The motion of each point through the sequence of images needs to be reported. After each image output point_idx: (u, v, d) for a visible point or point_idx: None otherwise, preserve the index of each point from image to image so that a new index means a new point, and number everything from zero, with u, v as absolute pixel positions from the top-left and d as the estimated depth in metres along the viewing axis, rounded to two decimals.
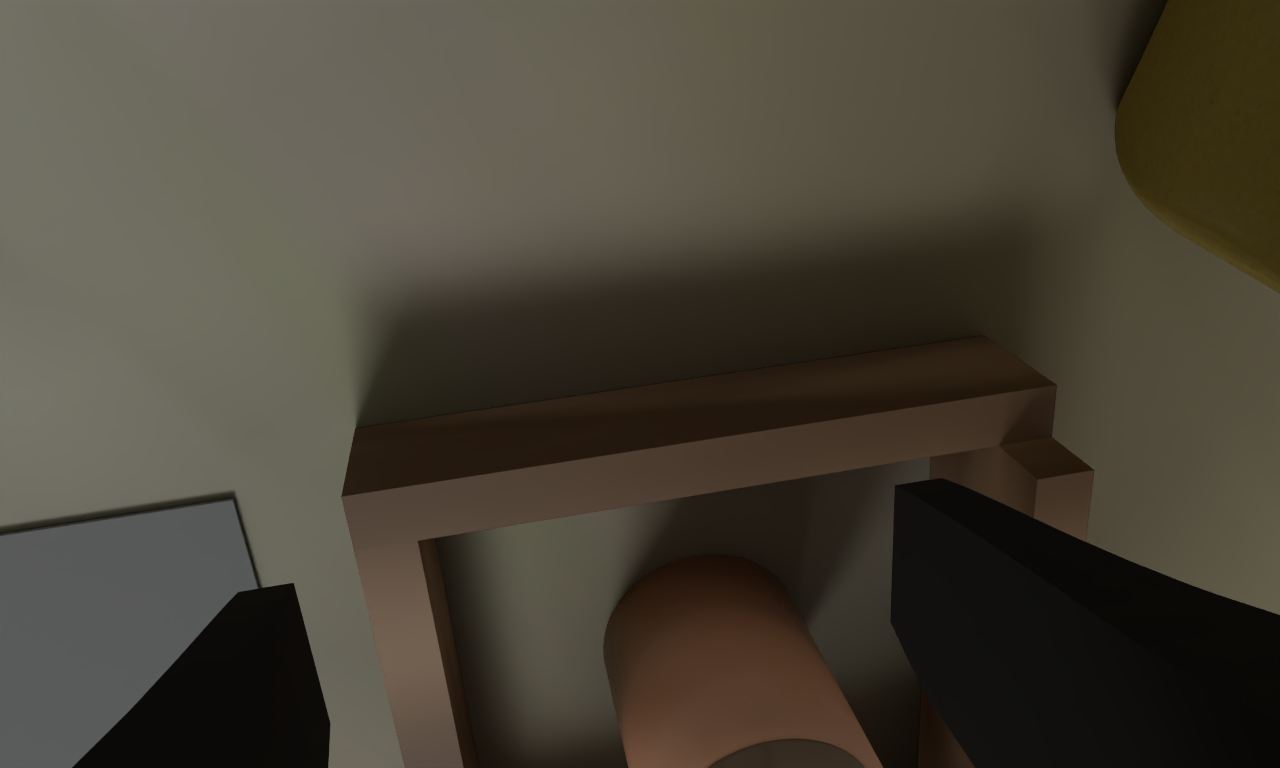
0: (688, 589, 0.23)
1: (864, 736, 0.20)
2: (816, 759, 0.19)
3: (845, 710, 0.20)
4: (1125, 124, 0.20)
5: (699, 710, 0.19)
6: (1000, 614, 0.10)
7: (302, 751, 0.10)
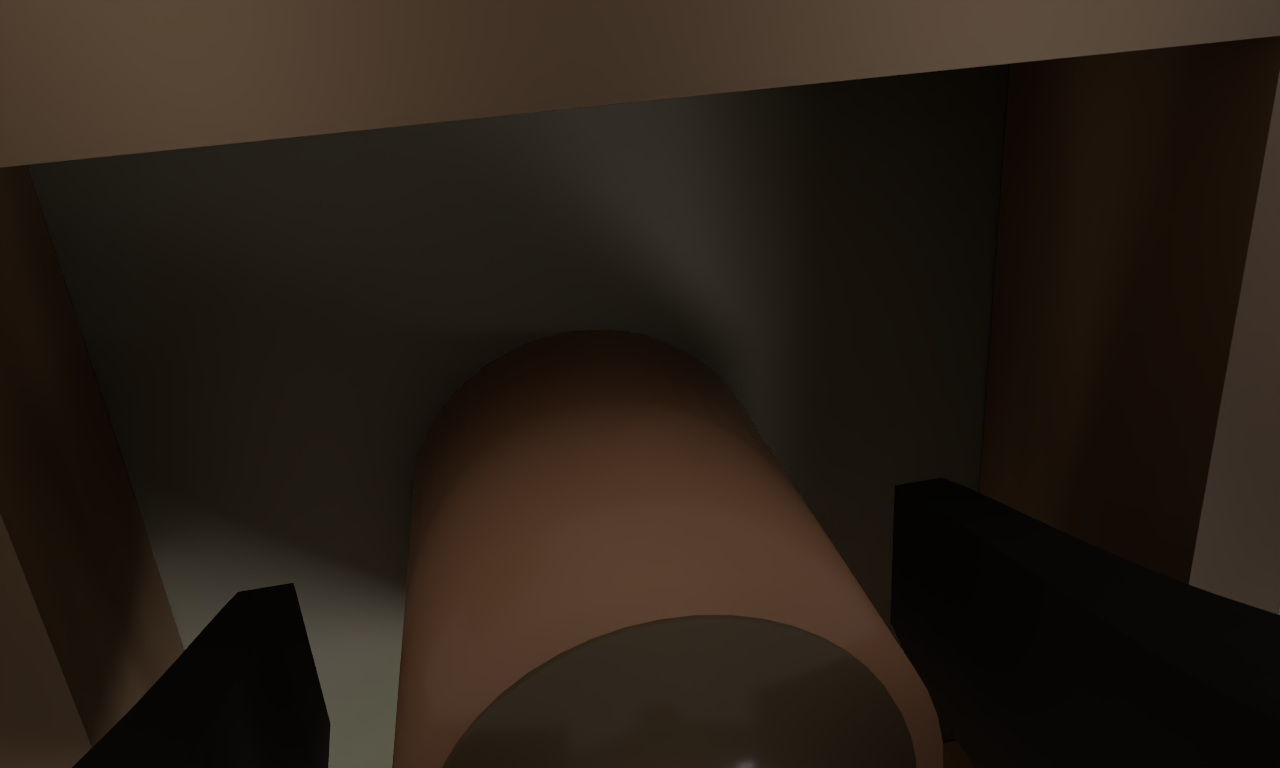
0: None
1: (497, 612, 0.08)
2: None
3: (463, 606, 0.09)
4: None
5: None
6: (1000, 614, 0.10)
7: (302, 751, 0.10)
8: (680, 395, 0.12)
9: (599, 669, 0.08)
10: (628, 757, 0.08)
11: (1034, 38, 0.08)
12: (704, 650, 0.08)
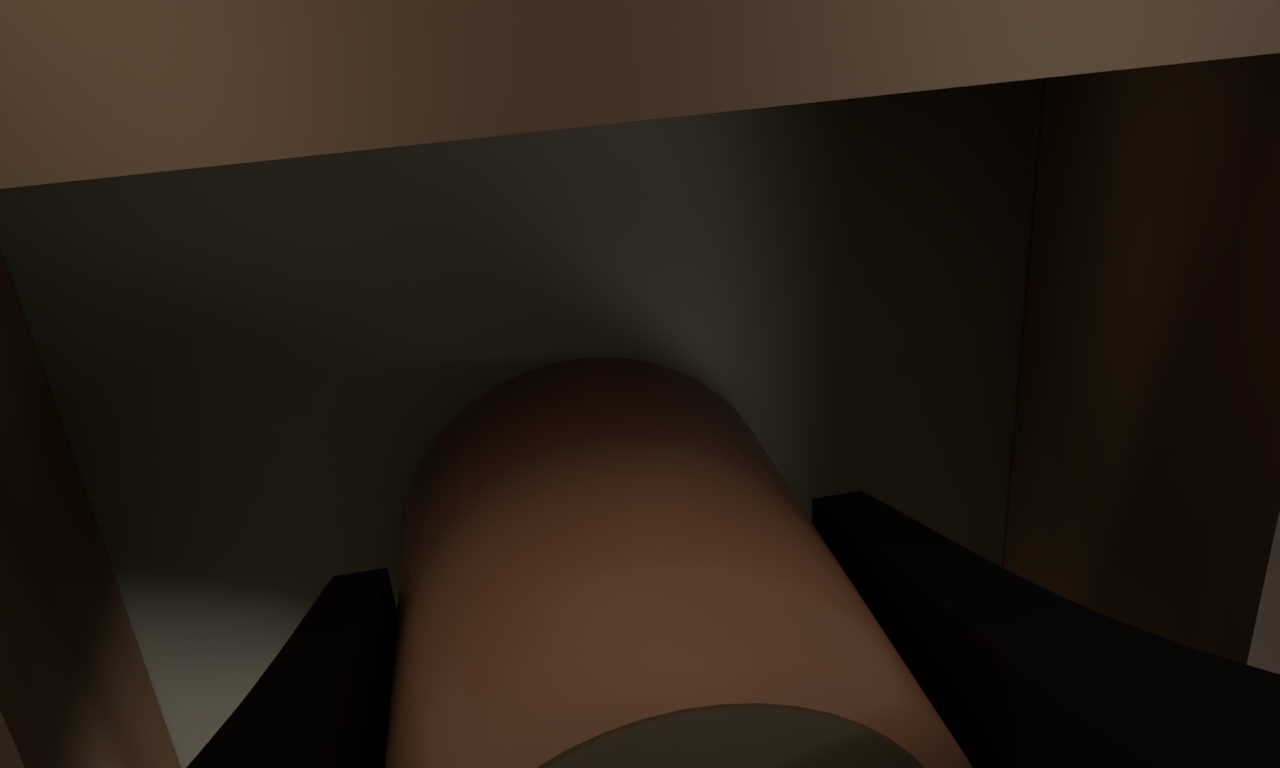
0: None
1: (494, 698, 0.07)
2: None
3: (456, 686, 0.08)
4: None
5: None
6: (902, 632, 0.10)
7: None
8: (693, 433, 0.11)
9: (612, 767, 0.07)
10: None
11: (1102, 46, 0.07)
12: (731, 743, 0.07)
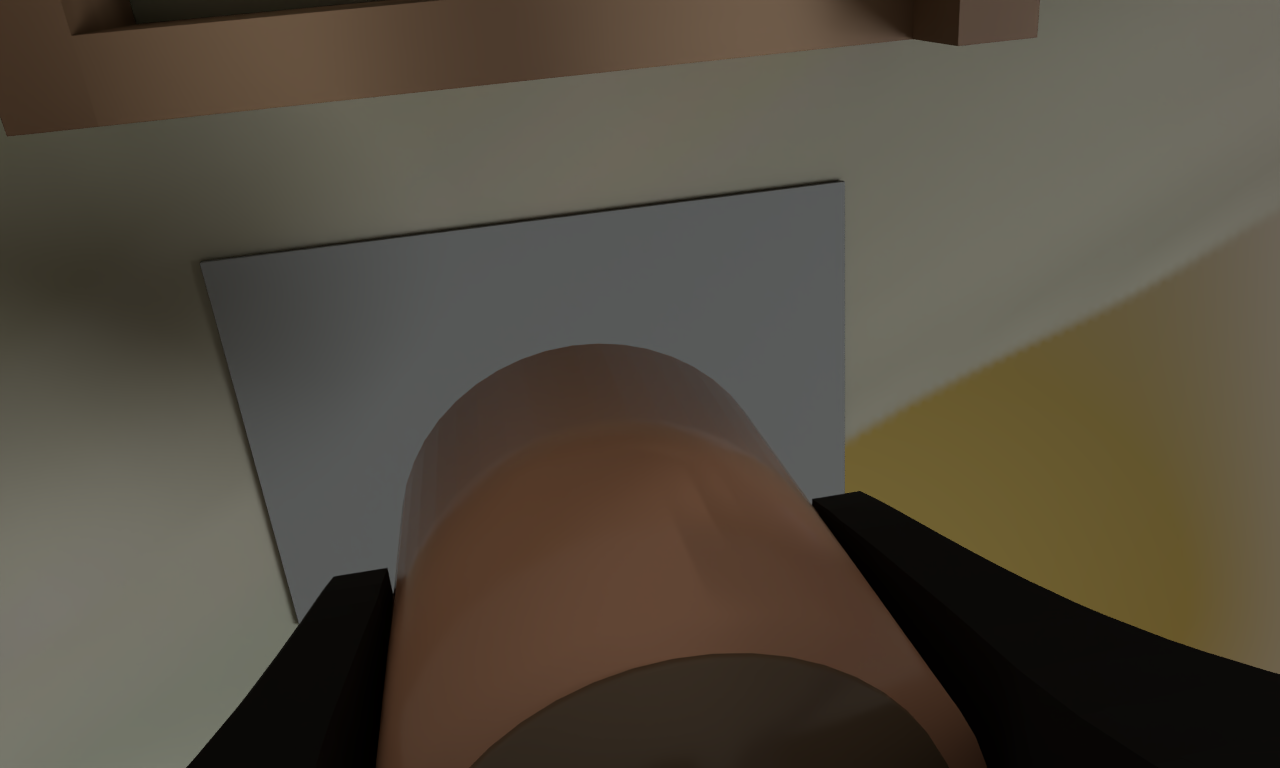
0: None
1: (486, 652, 0.07)
2: None
3: (449, 645, 0.08)
4: None
5: None
6: None
7: None
8: (687, 409, 0.11)
9: (603, 717, 0.07)
10: None
11: None
12: (723, 695, 0.07)
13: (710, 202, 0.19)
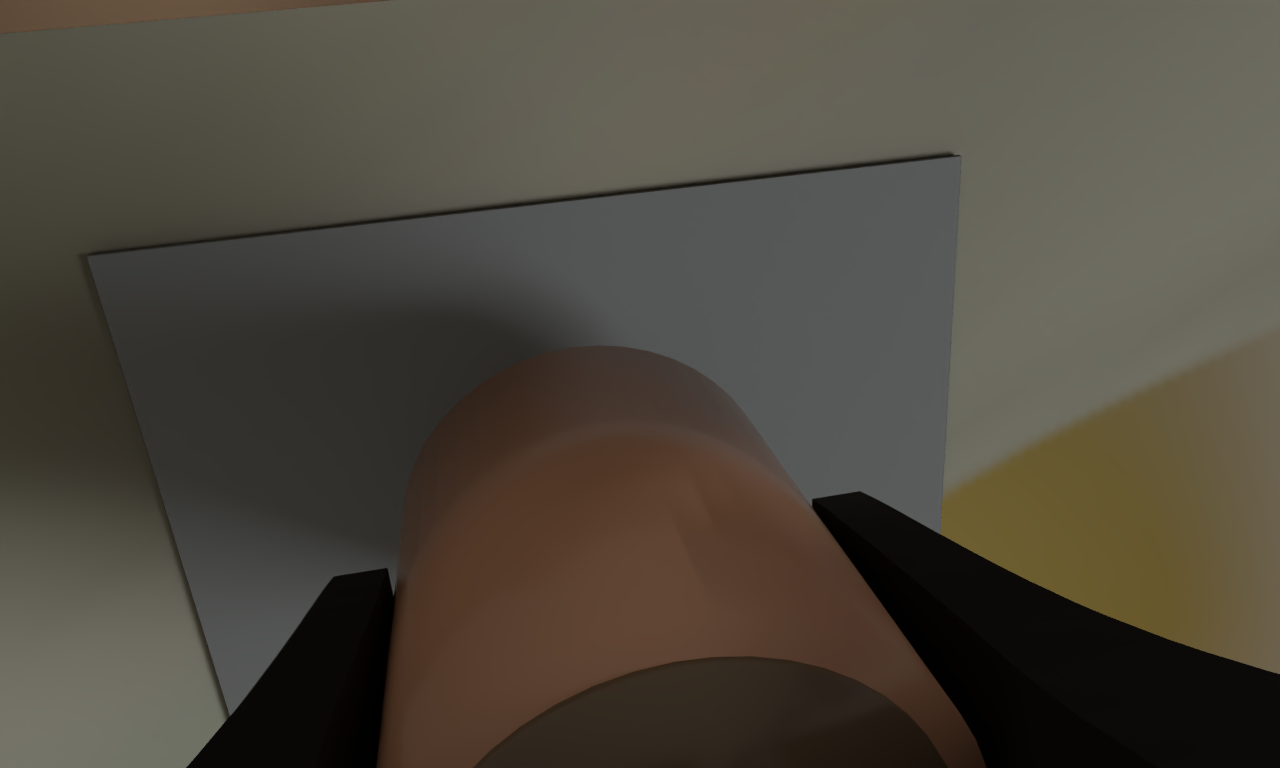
0: None
1: (486, 655, 0.07)
2: None
3: (449, 648, 0.08)
4: None
5: None
6: None
7: None
8: (688, 412, 0.11)
9: (604, 720, 0.07)
10: None
11: None
12: (725, 697, 0.07)
13: (783, 182, 0.14)
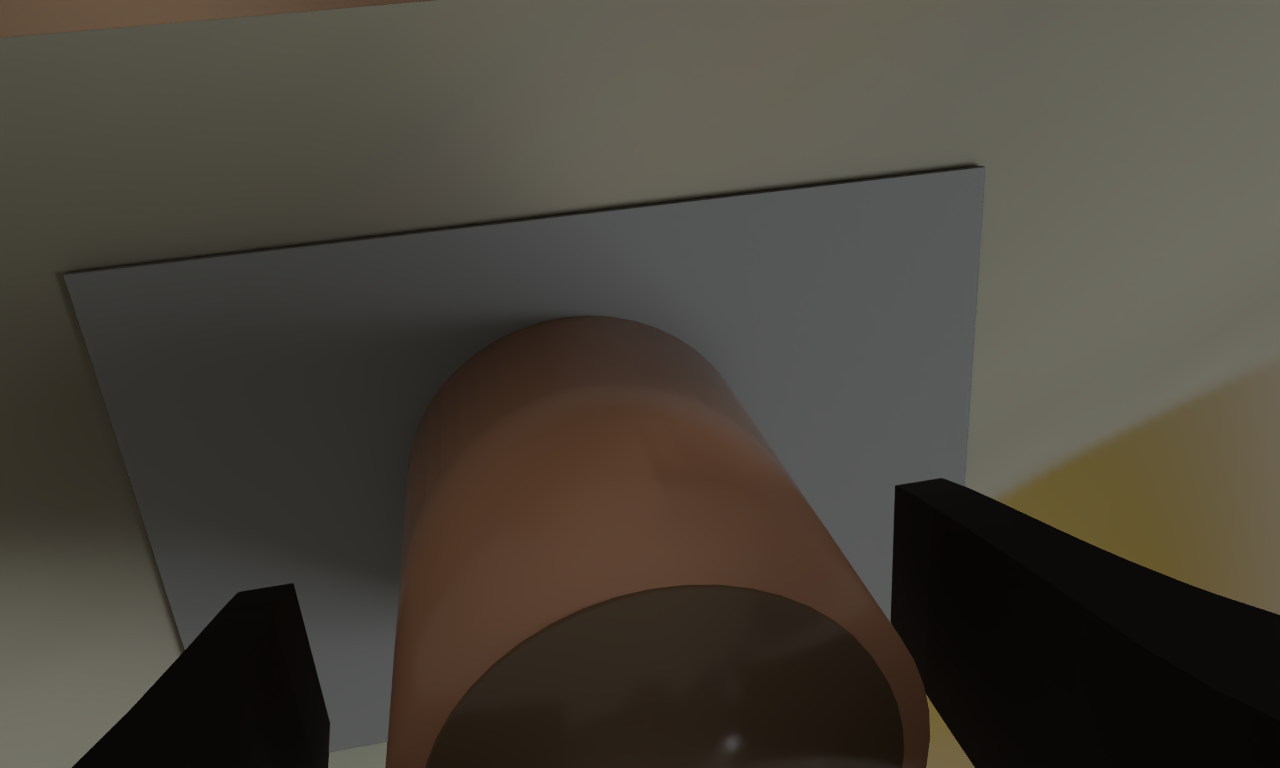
0: None
1: (489, 585, 0.08)
2: (476, 756, 0.08)
3: (456, 581, 0.09)
4: None
5: None
6: (1000, 615, 0.10)
7: (302, 751, 0.10)
8: (670, 376, 0.12)
9: (590, 638, 0.08)
10: (620, 726, 0.08)
11: None
12: (694, 620, 0.08)
13: (799, 195, 0.13)
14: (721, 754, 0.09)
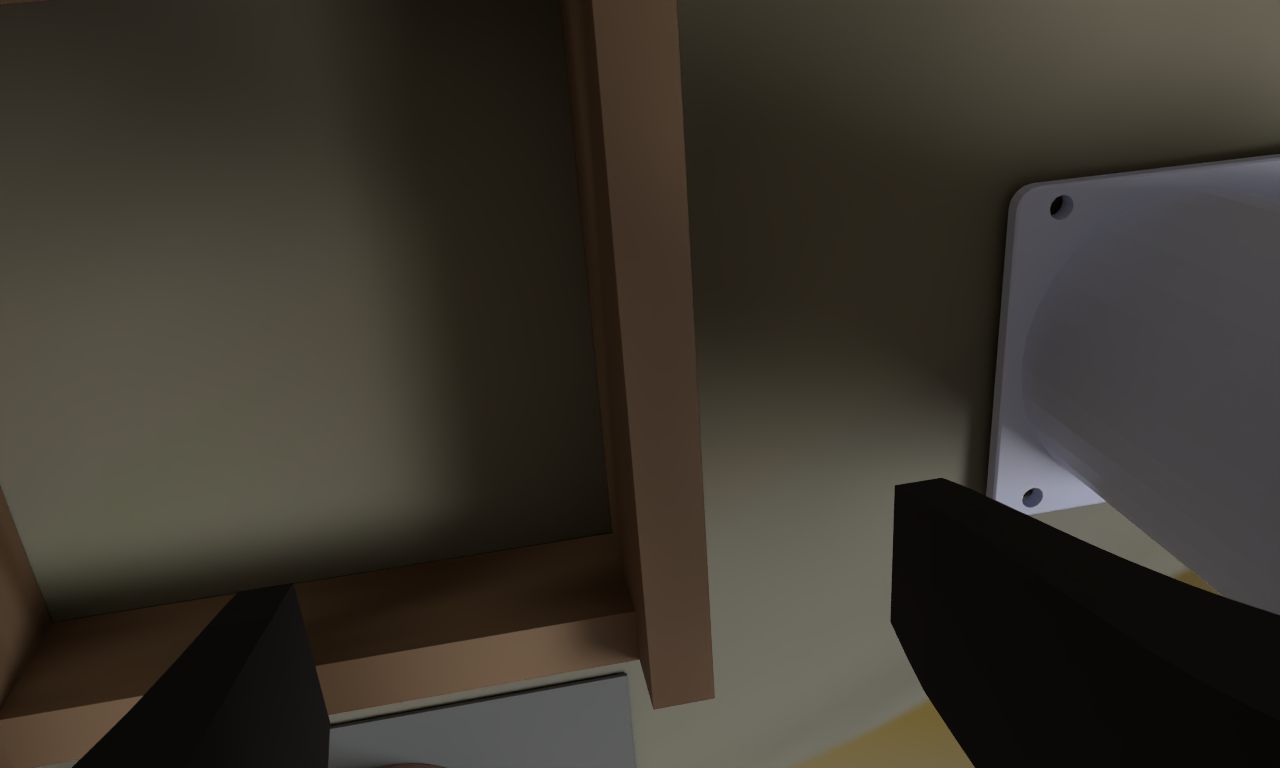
0: None
1: None
2: None
3: None
4: None
5: None
6: (1000, 614, 0.10)
7: (302, 751, 0.10)
8: None
9: None
10: None
11: None
12: None
13: (518, 696, 0.24)
14: None
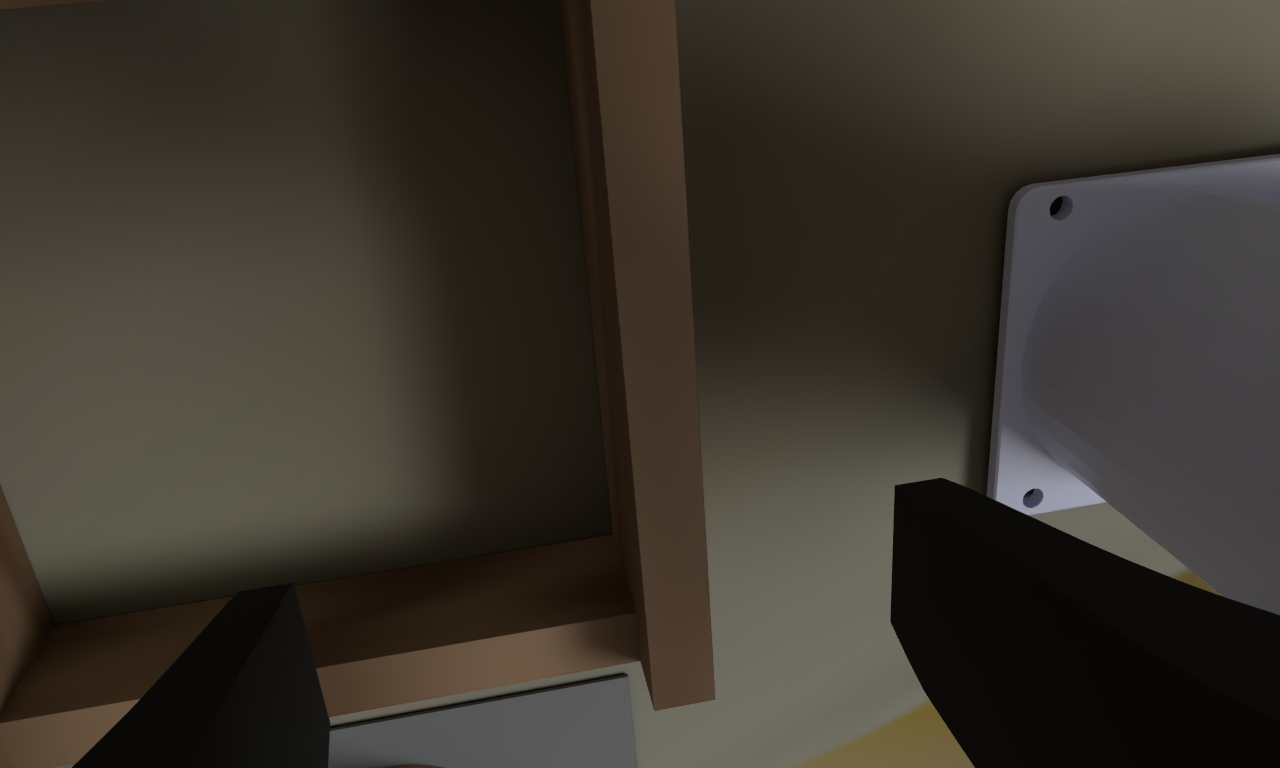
0: None
1: None
2: None
3: None
4: None
5: None
6: (1000, 614, 0.10)
7: (302, 751, 0.10)
8: None
9: None
10: None
11: None
12: None
13: (519, 697, 0.24)
14: None
